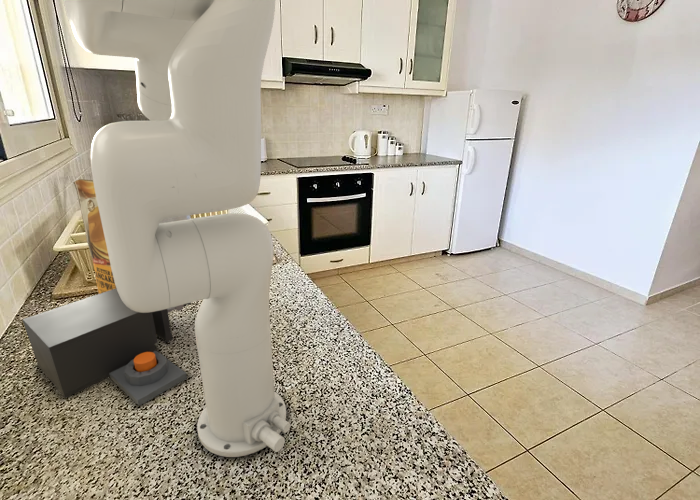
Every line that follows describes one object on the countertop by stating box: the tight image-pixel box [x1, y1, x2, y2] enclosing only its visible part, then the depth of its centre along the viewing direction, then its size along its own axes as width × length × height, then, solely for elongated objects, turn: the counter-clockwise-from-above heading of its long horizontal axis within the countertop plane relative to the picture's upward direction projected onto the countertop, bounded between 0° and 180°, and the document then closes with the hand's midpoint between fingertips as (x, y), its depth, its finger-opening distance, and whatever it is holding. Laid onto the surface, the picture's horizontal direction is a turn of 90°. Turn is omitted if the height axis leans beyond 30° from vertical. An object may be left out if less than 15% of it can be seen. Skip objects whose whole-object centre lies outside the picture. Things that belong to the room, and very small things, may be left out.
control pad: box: [109, 350, 188, 406], centre depth 63 cm, size 10×8×3 cm
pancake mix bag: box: [72, 178, 117, 294], centre depth 82 cm, size 7×19×28 cm, turn 65°
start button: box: [134, 352, 157, 372], centre depth 62 cm, size 3×3×2 cm
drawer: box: [148, 305, 184, 345], centre depth 71 cm, size 18×11×8 cm, turn 143°
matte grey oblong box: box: [21, 288, 157, 399], centre depth 66 cm, size 15×13×10 cm
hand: (183, 303), depth 79 cm, fingers closed
